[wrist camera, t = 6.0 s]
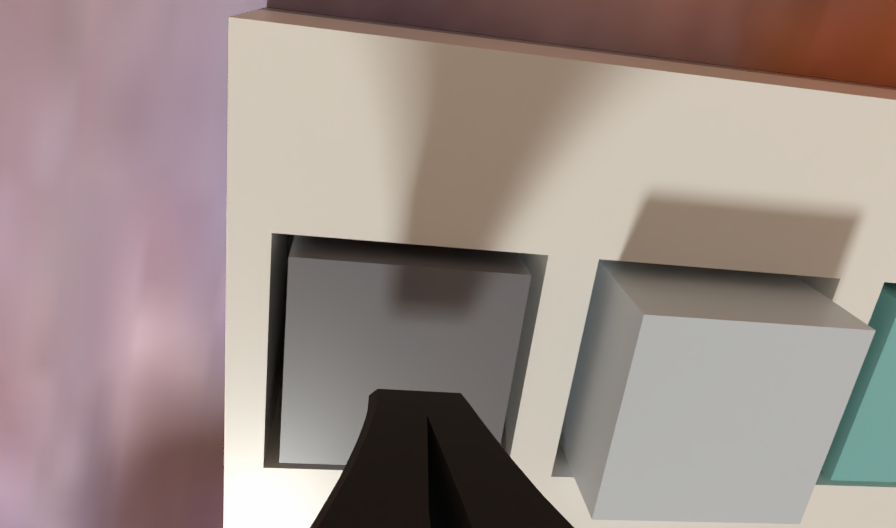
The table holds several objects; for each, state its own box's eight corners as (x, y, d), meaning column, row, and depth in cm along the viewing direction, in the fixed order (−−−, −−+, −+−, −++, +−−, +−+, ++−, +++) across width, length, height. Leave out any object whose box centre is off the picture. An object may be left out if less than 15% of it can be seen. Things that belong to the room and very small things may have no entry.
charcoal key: (497, 216, 15) (531, 275, 12) (471, 379, 16) (495, 470, 13) (304, 199, 14) (288, 257, 11) (295, 370, 15) (278, 462, 12)
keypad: (1018, 103, 16) (1212, 139, 12) (857, 487, 20) (968, 600, 16) (266, 7, 14) (228, 17, 10) (252, 468, 17) (222, 597, 14)
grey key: (770, 258, 14) (875, 330, 11) (717, 422, 16) (799, 523, 13) (583, 242, 14) (643, 314, 11) (547, 414, 15) (591, 519, 12)
